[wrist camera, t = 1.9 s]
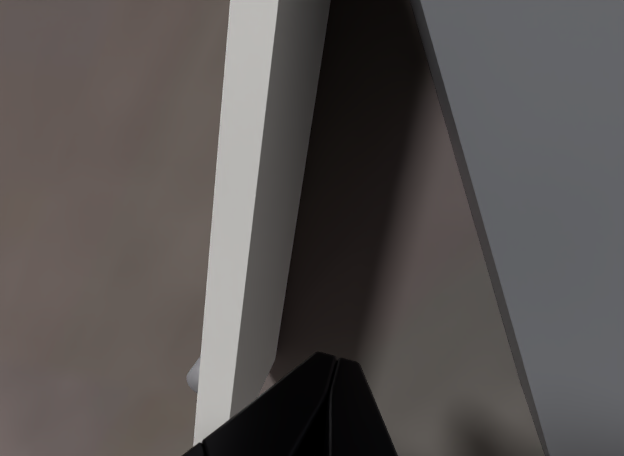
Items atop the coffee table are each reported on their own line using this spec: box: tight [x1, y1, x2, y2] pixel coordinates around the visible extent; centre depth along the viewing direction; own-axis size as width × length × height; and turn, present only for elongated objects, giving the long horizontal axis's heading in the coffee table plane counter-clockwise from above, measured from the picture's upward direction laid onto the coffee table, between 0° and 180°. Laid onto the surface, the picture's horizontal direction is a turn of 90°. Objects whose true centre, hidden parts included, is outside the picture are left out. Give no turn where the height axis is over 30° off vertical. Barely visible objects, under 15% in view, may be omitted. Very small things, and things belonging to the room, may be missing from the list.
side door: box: [187, 0, 331, 447], centre depth 13 cm, size 17×2×6 cm, turn 171°
